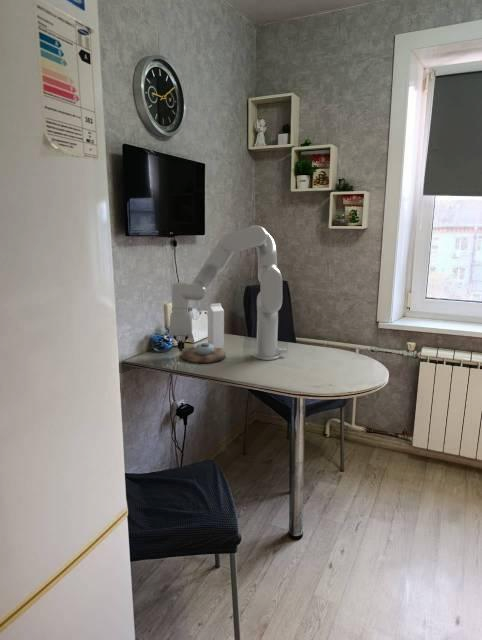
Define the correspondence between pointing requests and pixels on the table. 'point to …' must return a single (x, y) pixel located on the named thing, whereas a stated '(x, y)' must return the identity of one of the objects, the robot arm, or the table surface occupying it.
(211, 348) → the cover
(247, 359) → the table surface
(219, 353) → the turntable
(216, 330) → the milk
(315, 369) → the table surface
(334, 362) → the table surface
